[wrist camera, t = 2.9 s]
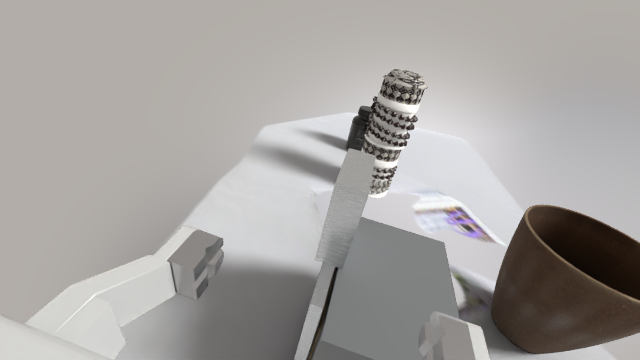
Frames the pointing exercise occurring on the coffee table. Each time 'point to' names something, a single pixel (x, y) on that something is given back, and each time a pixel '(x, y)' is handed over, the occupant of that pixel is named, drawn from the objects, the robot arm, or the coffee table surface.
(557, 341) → the plant pot
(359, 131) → the supplement bottle
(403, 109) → the black white cylinder
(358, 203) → the side door
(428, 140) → the coffee table surface
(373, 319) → the block
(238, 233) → the coffee table surface
